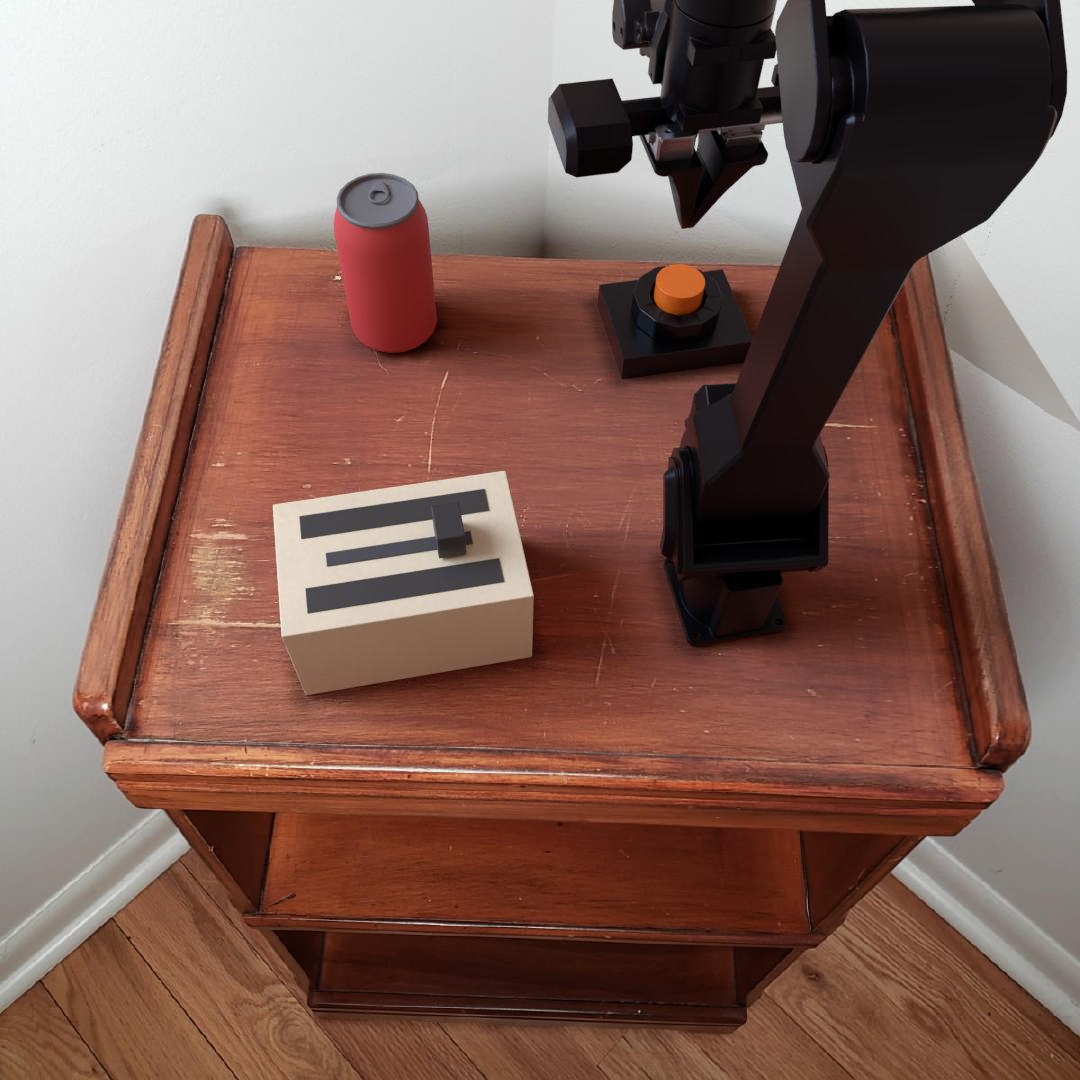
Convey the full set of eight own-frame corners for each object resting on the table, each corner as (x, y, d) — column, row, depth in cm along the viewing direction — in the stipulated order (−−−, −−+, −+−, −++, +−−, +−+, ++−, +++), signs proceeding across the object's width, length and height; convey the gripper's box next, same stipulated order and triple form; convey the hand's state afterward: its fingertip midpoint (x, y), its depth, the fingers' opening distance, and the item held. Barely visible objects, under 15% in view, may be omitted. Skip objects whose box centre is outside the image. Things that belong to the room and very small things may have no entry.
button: (707, 312, 75) (711, 294, 74) (660, 318, 75) (663, 300, 73) (694, 279, 77) (697, 261, 76) (648, 285, 77) (650, 267, 75)
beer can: (440, 297, 80) (430, 168, 70) (434, 359, 77) (421, 231, 67) (357, 295, 80) (335, 165, 70) (347, 356, 77) (322, 228, 67)
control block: (748, 362, 77) (759, 324, 74) (621, 379, 76) (626, 341, 73) (718, 290, 82) (726, 250, 78) (597, 305, 80) (600, 266, 77)
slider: (466, 554, 58) (465, 535, 56) (438, 559, 58) (436, 539, 56) (460, 520, 59) (458, 500, 58) (433, 524, 59) (430, 505, 57)
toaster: (532, 657, 63) (534, 595, 57) (305, 695, 61) (281, 636, 55) (506, 538, 68) (505, 469, 62) (295, 571, 66) (272, 503, 60)
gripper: (830, -87, 62) (775, 137, 75) (531, -61, 60) (528, 166, 73) (902, 14, 56) (829, 237, 69) (574, 47, 54) (562, 272, 67)
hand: (685, 224), depth 70 cm, fingers closed
